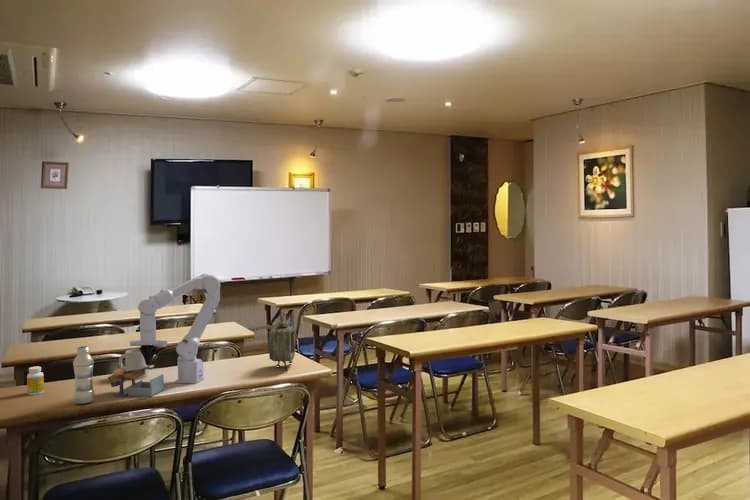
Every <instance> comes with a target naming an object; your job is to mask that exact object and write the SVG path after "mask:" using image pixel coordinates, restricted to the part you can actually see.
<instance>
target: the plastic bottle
mask: <svg viewBox="0 0 750 500" xmlns="http://www.w3.org/2000/svg"><path fill="white" fill-rule="evenodd" d="M89 347H90V346H87V345H85V346H84V345H83V346H77V347H76V353H77V355H76V356H75V357H74V359H73V361H72V366H73V371H74V378H75V379H74V380H75V382H74V392H73V401H74V402H75V404H79V405H80V404H82V405H84V404H85V405H86V404H89V403H93V402H94V399H95V395H96V394H95V393H96V392H95V389H94V383H93V372H94V363H95V362H94V361H95V360H94V358H93V357H92V355H91V354H90V350H89Z"/></svg>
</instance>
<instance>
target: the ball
mask: <svg viewBox="0 0 750 500" xmlns="http://www.w3.org/2000/svg"><path fill="white" fill-rule="evenodd" d="M124 372H125V371H124V370H122V369H120V367H119V368H115V370H113V374H112V375H114V376H116V375H122V374H124Z"/></svg>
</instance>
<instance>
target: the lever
mask: <svg viewBox="0 0 750 500" xmlns="http://www.w3.org/2000/svg"><path fill="white" fill-rule="evenodd" d="M154 367H155V364H151V365H148V366H146V367H143V368H142V369H137V370H131V371H124V374H122V375H116V376H114V374H112V375H109V376H108V377H107V379H108V383H109V384H110V387H111V388H115V387H119V386H120V384H119V382H118V381H117V380H118V379H119V378H123V384H125V383H124V382H125V381H129V380H131V379H135V380H137V379H136V378H138V377H140V376H142V375H145V374H146V373H145V370H146V369H148V370H149V369H152V368H154Z"/></svg>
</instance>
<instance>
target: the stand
mask: <svg viewBox="0 0 750 500" xmlns="http://www.w3.org/2000/svg"><path fill="white" fill-rule="evenodd" d="M117 381H118V382H119V384H120V385H119V391H117V392H115V393H113V397H125V398H126V397H129V396H128V387H129V386H128V387H125V388H124V383H123V378H119V379H118V380H117ZM135 383H136V379H132V380H131V385H133V384H135Z"/></svg>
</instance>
